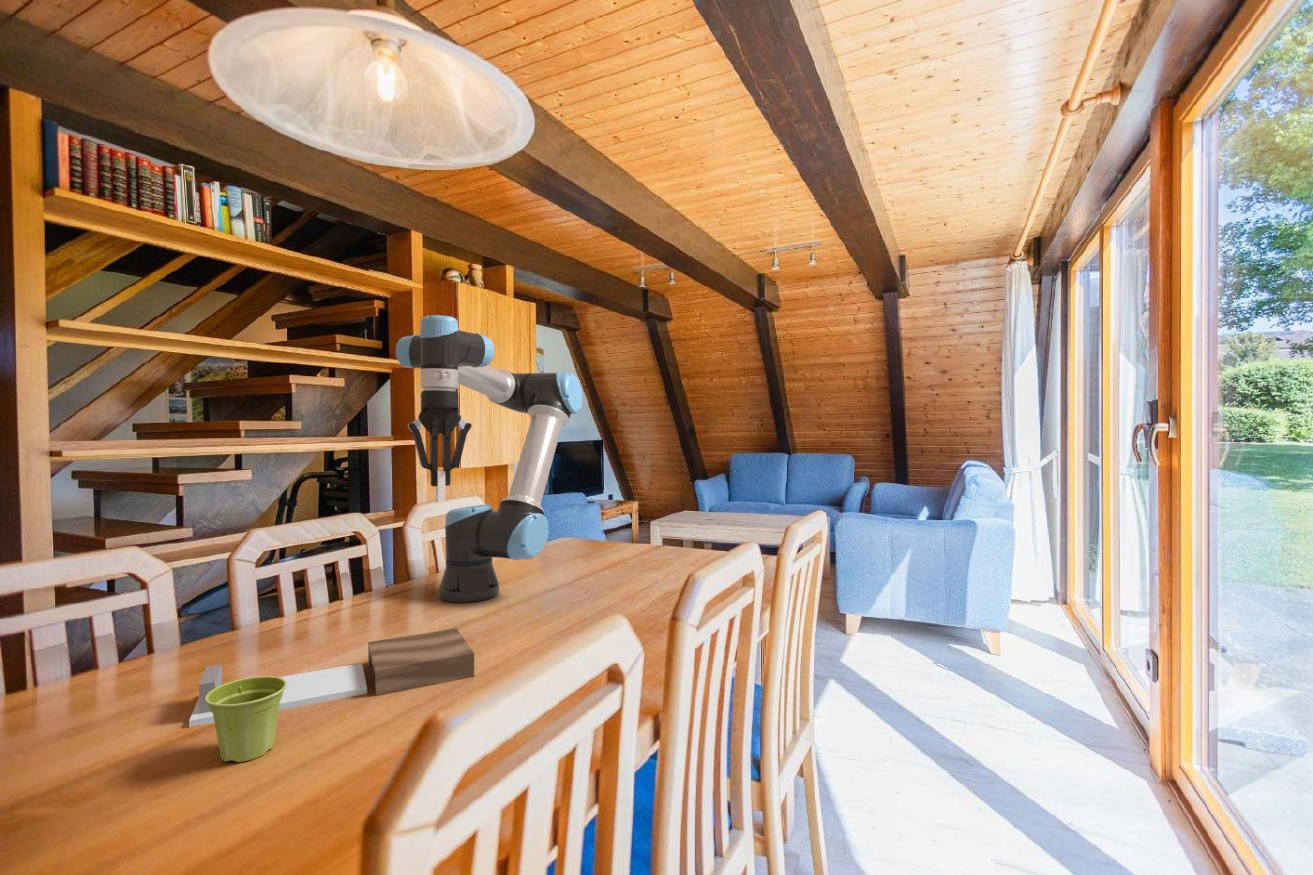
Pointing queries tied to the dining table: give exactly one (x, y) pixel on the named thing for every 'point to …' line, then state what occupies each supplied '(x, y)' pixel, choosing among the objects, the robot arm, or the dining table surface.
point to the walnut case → (420, 660)
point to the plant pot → (246, 716)
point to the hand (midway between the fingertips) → (440, 501)
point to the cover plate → (291, 688)
